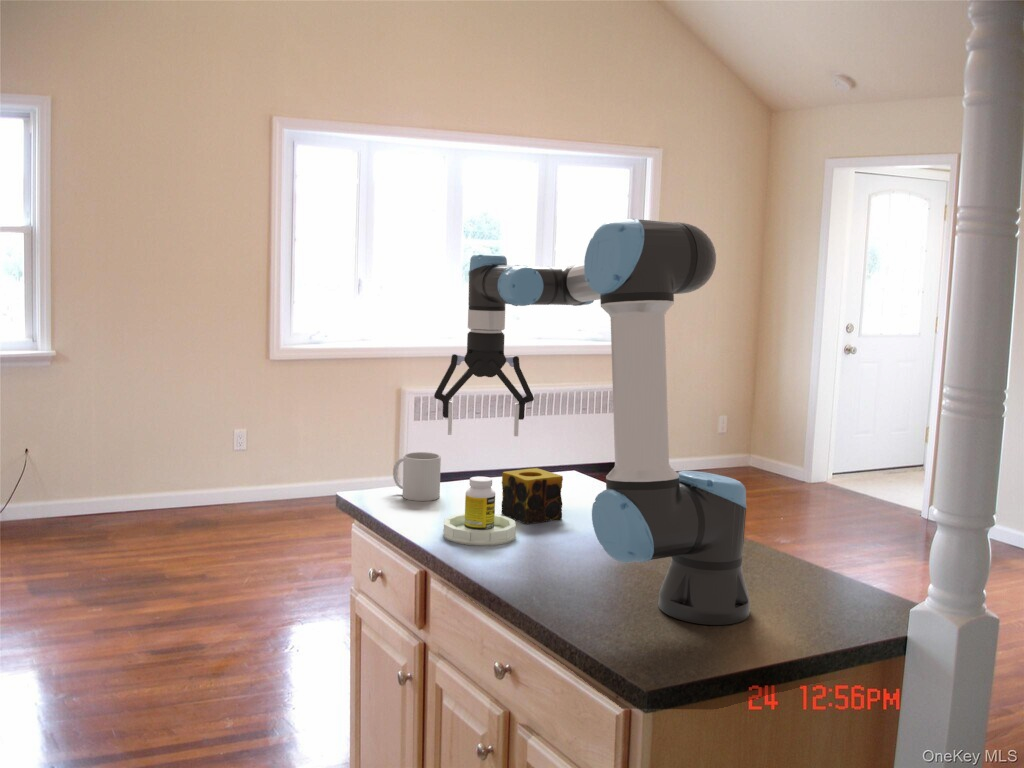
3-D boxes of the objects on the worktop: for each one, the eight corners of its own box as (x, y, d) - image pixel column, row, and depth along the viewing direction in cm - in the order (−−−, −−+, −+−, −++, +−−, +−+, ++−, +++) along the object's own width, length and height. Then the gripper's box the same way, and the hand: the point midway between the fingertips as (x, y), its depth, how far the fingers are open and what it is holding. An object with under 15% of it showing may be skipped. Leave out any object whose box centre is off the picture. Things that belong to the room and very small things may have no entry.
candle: (563, 519, 224) (564, 476, 223) (525, 525, 219) (527, 480, 217) (536, 509, 233) (538, 467, 231) (500, 514, 227) (501, 471, 226)
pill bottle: (490, 536, 205) (492, 483, 204) (460, 533, 207) (462, 480, 205) (497, 528, 211) (498, 476, 210) (468, 525, 213) (470, 474, 211)
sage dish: (517, 546, 202) (517, 533, 202) (442, 545, 201) (442, 531, 201) (513, 526, 217) (513, 513, 217) (443, 524, 216) (444, 512, 216)
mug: (445, 499, 239) (446, 458, 237) (408, 502, 234) (409, 460, 233) (427, 489, 248) (428, 449, 247) (391, 492, 244) (392, 451, 242)
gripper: (545, 331, 208) (541, 432, 211) (425, 327, 207) (422, 429, 209) (549, 334, 201) (545, 439, 203) (423, 330, 199) (421, 436, 202)
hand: (482, 434), depth 206 cm, fingers open, 13 cm apart
